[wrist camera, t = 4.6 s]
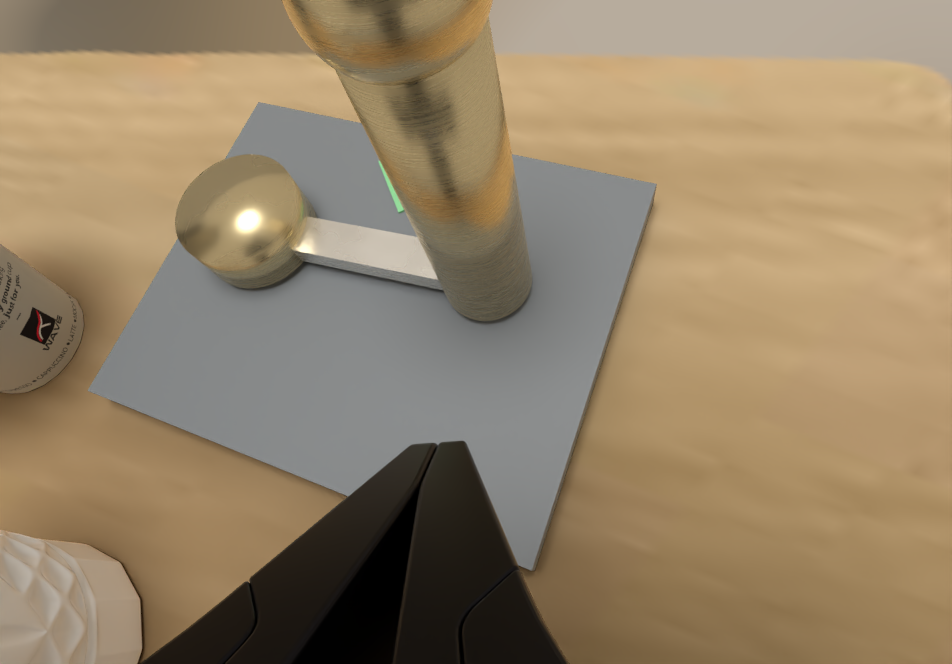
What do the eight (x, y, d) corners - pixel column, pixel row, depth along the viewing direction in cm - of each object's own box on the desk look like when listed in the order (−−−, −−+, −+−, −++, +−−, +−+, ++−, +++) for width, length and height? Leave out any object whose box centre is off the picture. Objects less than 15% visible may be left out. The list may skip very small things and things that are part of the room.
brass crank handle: (188, 276, 23) (-275, -75, 10) (237, 179, 24) (-122, -230, 12) (522, 352, 19) (418, -30, 7) (556, 235, 21) (517, -254, 8)
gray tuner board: (652, 203, 22) (657, 182, 21) (534, 570, 18) (531, 570, 17) (272, 121, 27) (257, 100, 26) (111, 399, 23) (85, 389, 22)
